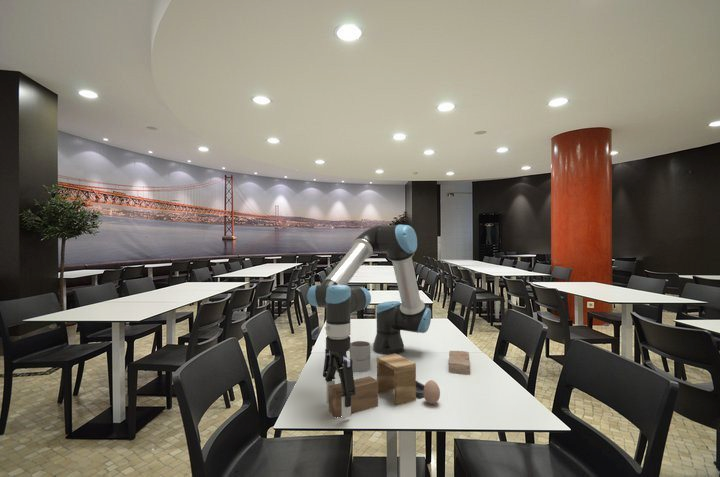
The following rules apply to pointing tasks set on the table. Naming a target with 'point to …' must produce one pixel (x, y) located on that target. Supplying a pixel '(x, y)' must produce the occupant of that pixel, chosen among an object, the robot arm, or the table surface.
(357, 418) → the table surface
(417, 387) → the tray
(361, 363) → the mug
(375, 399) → the walnut block
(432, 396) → the egg
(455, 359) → the brick
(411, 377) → the tunnel
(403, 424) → the table surface
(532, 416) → the table surface
